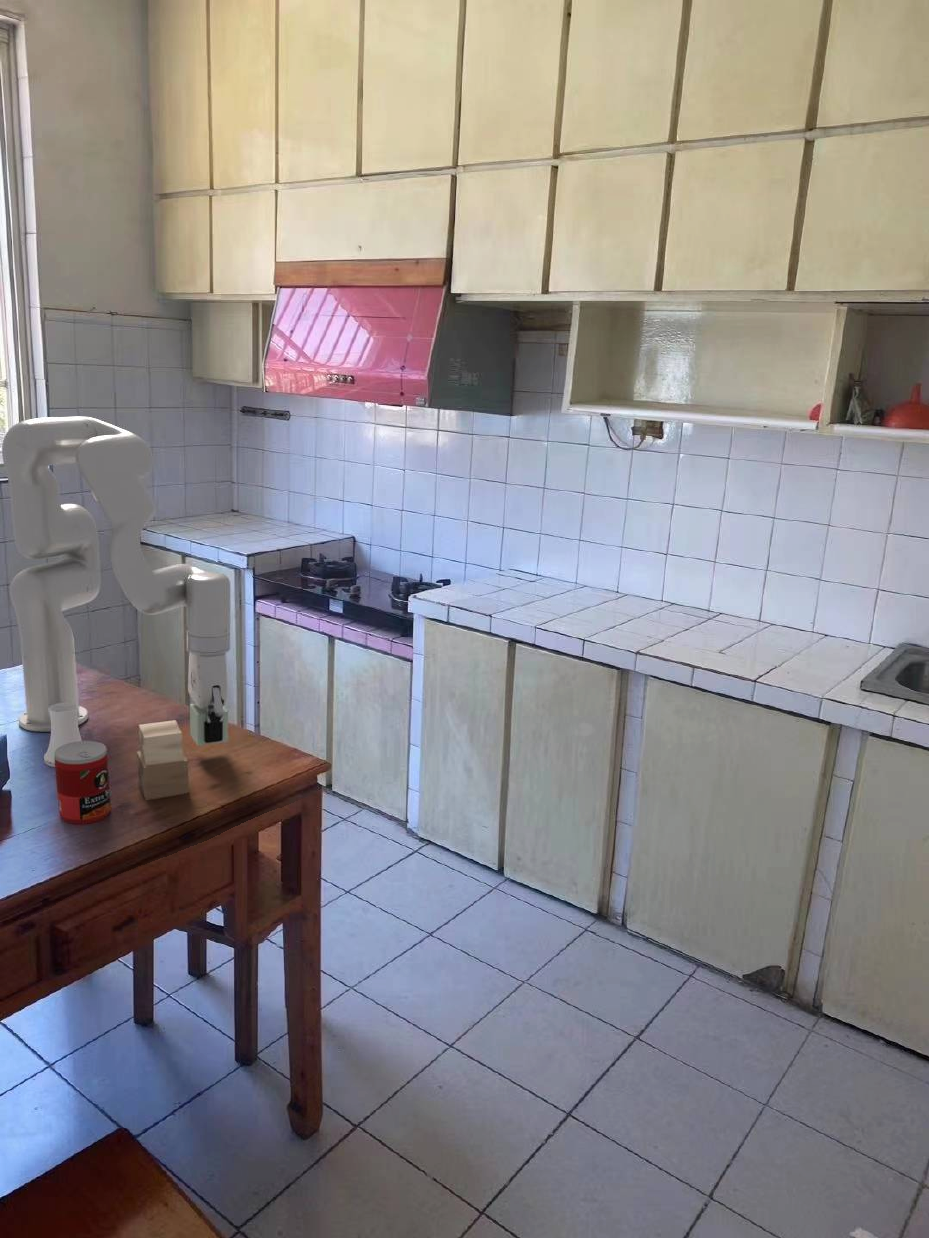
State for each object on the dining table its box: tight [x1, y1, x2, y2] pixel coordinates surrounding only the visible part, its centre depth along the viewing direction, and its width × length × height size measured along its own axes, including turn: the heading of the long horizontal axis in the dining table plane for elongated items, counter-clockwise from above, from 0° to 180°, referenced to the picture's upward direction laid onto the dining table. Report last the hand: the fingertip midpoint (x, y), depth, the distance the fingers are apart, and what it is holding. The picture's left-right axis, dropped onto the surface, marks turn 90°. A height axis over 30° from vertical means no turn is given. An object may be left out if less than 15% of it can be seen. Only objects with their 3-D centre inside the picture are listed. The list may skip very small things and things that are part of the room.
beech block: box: [138, 719, 184, 766], centre depth 155 cm, size 6×6×5 cm
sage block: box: [189, 702, 229, 747], centre depth 169 cm, size 6×6×6 cm
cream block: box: [136, 751, 190, 801], centre depth 157 cm, size 7×7×6 cm
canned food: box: [54, 740, 112, 825], centre depth 146 cm, size 8×8×11 cm
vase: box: [43, 703, 83, 768], centre depth 166 cm, size 8×8×10 cm
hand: (209, 733), depth 169 cm, fingers closed on sage block, 5 cm apart
